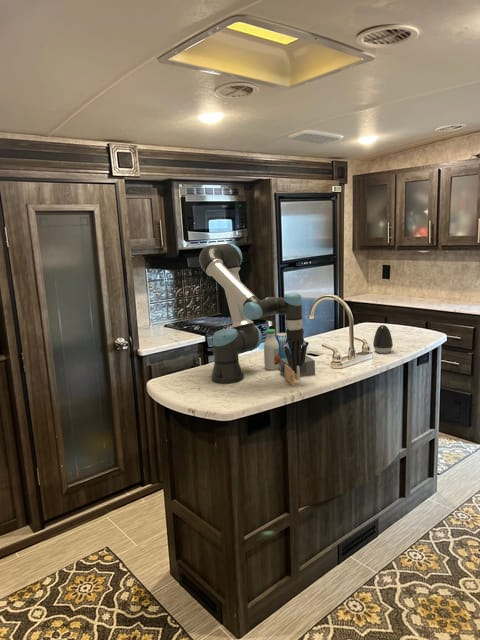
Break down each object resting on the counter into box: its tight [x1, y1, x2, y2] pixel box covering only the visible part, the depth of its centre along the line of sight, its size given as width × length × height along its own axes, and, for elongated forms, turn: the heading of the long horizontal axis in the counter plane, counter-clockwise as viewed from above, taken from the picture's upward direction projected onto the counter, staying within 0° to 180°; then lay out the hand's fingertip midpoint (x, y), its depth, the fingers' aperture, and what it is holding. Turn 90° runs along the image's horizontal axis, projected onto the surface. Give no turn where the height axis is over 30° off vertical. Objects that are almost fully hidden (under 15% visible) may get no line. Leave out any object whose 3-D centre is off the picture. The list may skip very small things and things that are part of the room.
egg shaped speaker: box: [372, 324, 394, 354], centre depth 254 cm, size 10×10×15 cm
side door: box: [283, 364, 296, 386], centre depth 212 cm, size 12×2×6 cm, turn 12°
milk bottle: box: [263, 328, 280, 371], centre depth 235 cm, size 8×8×20 cm
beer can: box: [275, 332, 291, 359], centre depth 242 cm, size 8×8×16 cm
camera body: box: [278, 355, 316, 378], centre depth 225 cm, size 15×10×8 cm, turn 104°
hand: (297, 379), depth 211 cm, fingers closed
